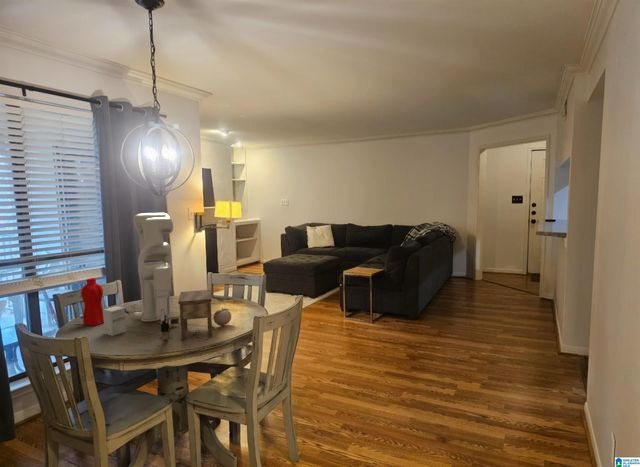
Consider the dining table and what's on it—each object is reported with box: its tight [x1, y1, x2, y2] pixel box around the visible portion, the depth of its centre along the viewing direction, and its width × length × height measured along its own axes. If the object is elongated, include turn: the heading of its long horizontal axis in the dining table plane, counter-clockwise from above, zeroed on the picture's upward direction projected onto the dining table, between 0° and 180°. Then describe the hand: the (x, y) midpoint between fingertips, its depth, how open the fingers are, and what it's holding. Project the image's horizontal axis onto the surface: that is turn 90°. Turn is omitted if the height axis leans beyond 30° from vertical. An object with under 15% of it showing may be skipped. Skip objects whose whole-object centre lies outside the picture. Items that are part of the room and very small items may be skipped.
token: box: [190, 329, 201, 336], centre depth 197 cm, size 4×4×1 cm
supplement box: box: [103, 305, 127, 337], centre depth 199 cm, size 7×7×13 cm
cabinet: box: [177, 289, 213, 342], centre depth 197 cm, size 15×19×19 cm
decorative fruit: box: [212, 307, 232, 327], centre depth 206 cm, size 9×8×10 cm
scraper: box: [159, 316, 180, 341], centre depth 196 cm, size 23×9×11 cm, turn 16°
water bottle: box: [80, 277, 104, 327], centre depth 213 cm, size 9×11×25 cm
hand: (165, 330), depth 186 cm, fingers closed on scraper
